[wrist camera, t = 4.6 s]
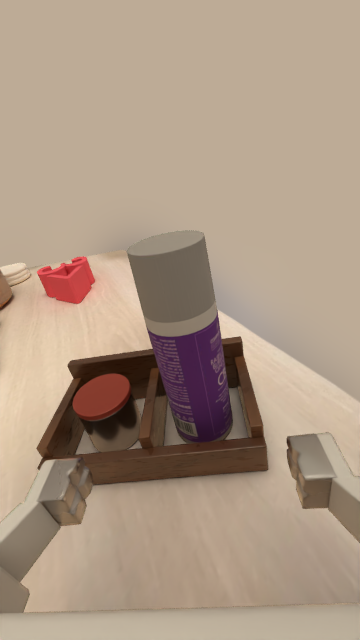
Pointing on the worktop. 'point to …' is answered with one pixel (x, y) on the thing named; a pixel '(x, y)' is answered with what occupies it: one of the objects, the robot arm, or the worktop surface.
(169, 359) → the container
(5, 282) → the planter
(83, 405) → the spice jar
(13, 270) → the coaster
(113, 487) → the worktop surface
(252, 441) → the spice rack
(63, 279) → the letters
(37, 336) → the worktop surface
